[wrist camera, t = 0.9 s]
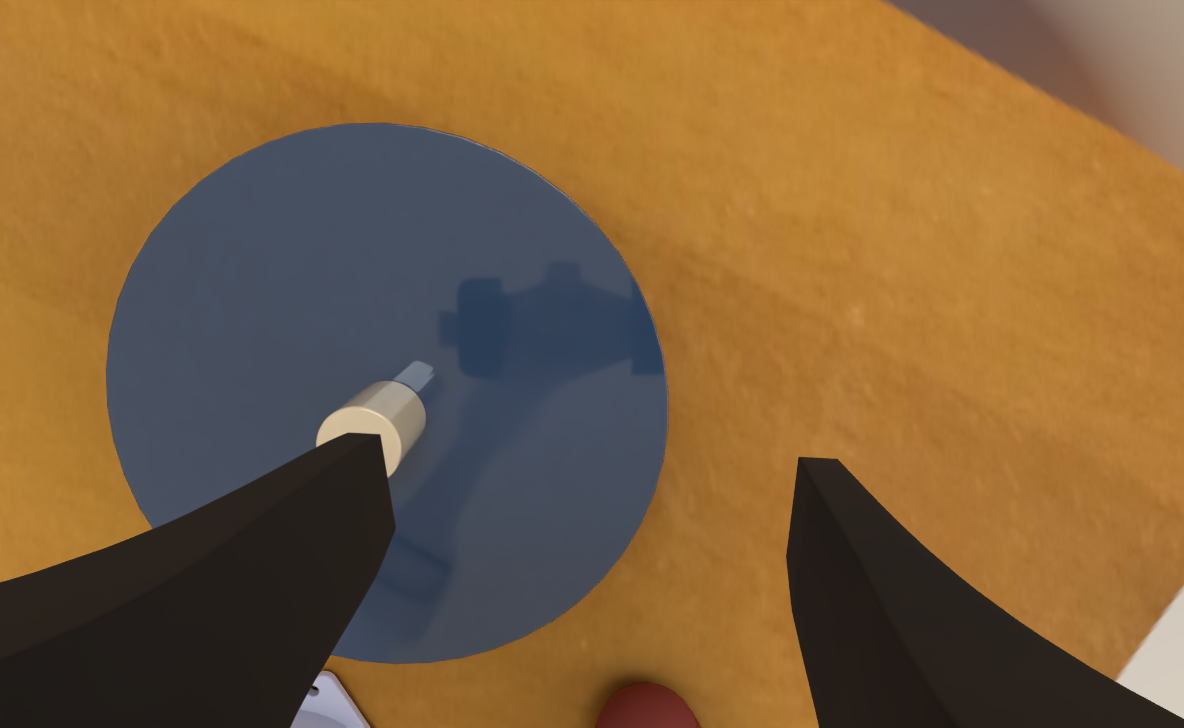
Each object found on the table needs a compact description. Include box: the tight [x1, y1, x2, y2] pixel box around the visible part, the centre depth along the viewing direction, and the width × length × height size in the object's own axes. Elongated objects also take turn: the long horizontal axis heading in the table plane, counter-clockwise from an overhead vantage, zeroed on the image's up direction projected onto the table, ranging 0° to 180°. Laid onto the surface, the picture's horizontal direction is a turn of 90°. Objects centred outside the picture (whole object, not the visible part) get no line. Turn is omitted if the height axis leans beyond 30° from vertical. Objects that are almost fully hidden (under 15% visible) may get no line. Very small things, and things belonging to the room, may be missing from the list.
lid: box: [106, 123, 668, 664], centre depth 22 cm, size 18×18×4 cm
